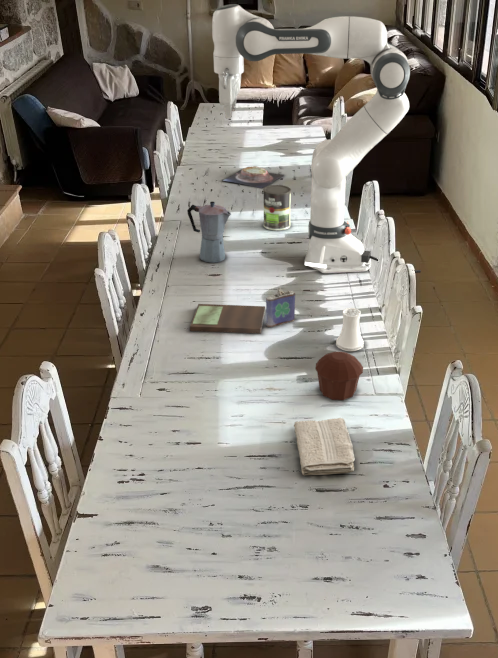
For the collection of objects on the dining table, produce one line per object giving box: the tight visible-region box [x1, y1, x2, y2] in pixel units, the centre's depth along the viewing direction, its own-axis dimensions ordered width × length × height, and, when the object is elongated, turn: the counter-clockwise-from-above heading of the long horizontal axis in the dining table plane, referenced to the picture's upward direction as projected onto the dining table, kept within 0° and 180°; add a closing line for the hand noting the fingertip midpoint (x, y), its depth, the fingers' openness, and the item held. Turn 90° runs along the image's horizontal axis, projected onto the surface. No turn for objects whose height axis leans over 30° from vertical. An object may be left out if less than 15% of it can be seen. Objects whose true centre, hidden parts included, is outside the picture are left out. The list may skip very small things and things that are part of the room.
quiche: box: [222, 165, 284, 189], centre depth 321 cm, size 21×20×4 cm
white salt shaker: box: [335, 307, 365, 352], centre depth 197 cm, size 8×8×10 cm
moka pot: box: [186, 201, 232, 264], centre depth 243 cm, size 10×15×20 cm, turn 78°
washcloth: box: [293, 417, 356, 476], centre depth 160 cm, size 12×18×3 cm, turn 7°
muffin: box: [315, 350, 364, 401], centre depth 178 cm, size 12×11×10 cm
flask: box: [265, 287, 296, 328], centre depth 207 cm, size 9×3×11 cm, turn 121°
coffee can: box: [262, 184, 292, 232], centre depth 270 cm, size 10×10×14 cm
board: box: [189, 303, 266, 335], centre depth 210 cm, size 20×14×2 cm
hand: (230, 114), depth 222 cm, fingers open, 8 cm apart
